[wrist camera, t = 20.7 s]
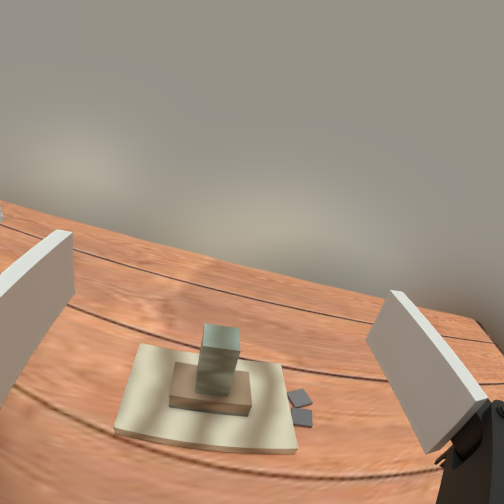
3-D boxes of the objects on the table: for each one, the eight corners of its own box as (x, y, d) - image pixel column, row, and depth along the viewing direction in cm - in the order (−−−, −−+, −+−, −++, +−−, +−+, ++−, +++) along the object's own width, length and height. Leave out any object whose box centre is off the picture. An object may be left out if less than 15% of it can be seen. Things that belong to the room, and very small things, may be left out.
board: (115, 433, 28) (113, 427, 27) (140, 350, 42) (140, 343, 42) (294, 453, 31) (298, 448, 30) (278, 370, 45) (280, 363, 45)
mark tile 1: (289, 426, 35) (291, 423, 35) (289, 411, 38) (291, 407, 38) (309, 429, 35) (312, 425, 35) (309, 414, 38) (311, 410, 38)
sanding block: (168, 407, 32) (172, 347, 28) (174, 374, 38) (180, 313, 34) (247, 416, 34) (268, 360, 30) (245, 383, 39) (263, 326, 35)
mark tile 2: (293, 411, 38) (295, 406, 38) (284, 396, 41) (286, 392, 40) (310, 406, 40) (312, 402, 39) (300, 392, 42) (302, 388, 42)
